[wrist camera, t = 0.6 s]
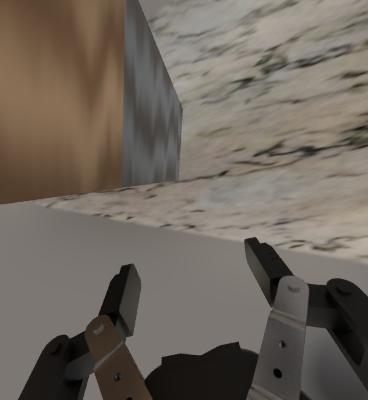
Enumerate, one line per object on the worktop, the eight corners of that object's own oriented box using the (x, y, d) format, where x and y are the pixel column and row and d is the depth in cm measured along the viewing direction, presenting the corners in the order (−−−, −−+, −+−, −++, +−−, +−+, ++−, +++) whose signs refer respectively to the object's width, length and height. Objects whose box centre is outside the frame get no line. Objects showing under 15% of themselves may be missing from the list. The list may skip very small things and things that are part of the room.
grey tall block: (106, 107, 37) (-718, -436, 4) (182, 109, 35) (-211, -854, 2) (105, 174, 39) (-471, 170, 6) (178, 179, 37) (-78, 215, 4)
